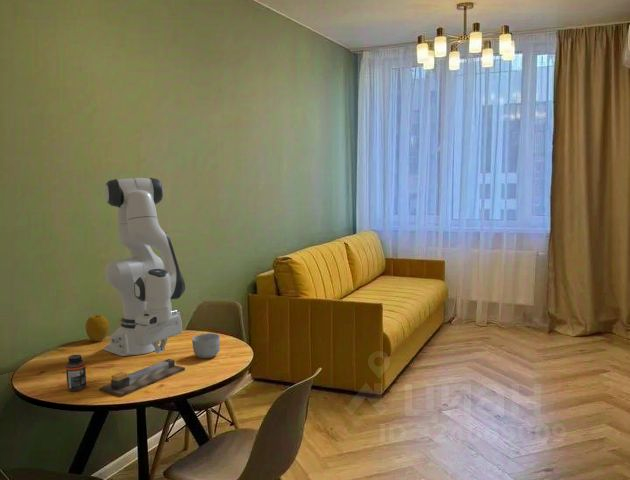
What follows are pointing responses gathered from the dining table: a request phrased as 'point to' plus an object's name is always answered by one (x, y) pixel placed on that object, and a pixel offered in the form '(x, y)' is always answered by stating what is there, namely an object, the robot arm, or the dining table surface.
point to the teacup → (206, 345)
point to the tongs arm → (150, 369)
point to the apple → (97, 327)
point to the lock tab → (119, 376)
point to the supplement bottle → (76, 373)
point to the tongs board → (140, 381)
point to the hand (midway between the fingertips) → (159, 351)
